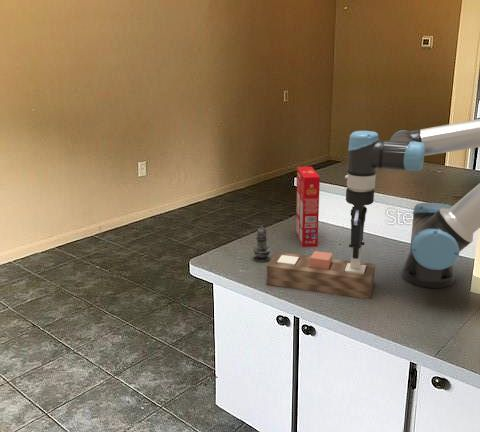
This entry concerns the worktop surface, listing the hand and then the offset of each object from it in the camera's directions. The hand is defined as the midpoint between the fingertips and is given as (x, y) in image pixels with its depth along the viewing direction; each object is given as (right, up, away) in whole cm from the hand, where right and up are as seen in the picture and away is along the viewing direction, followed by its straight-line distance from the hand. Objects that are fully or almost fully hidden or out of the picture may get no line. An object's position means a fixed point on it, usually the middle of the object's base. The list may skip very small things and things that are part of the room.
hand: (355, 267), depth 154 cm
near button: (0, -4, +1) cm, 4 cm away
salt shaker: (-26, 0, +23) cm, 35 cm away
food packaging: (-9, +6, +39) cm, 41 cm away
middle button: (-9, -1, +4) cm, 10 cm away
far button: (-19, -2, +8) cm, 20 cm away
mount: (-9, -5, +5) cm, 12 cm away
